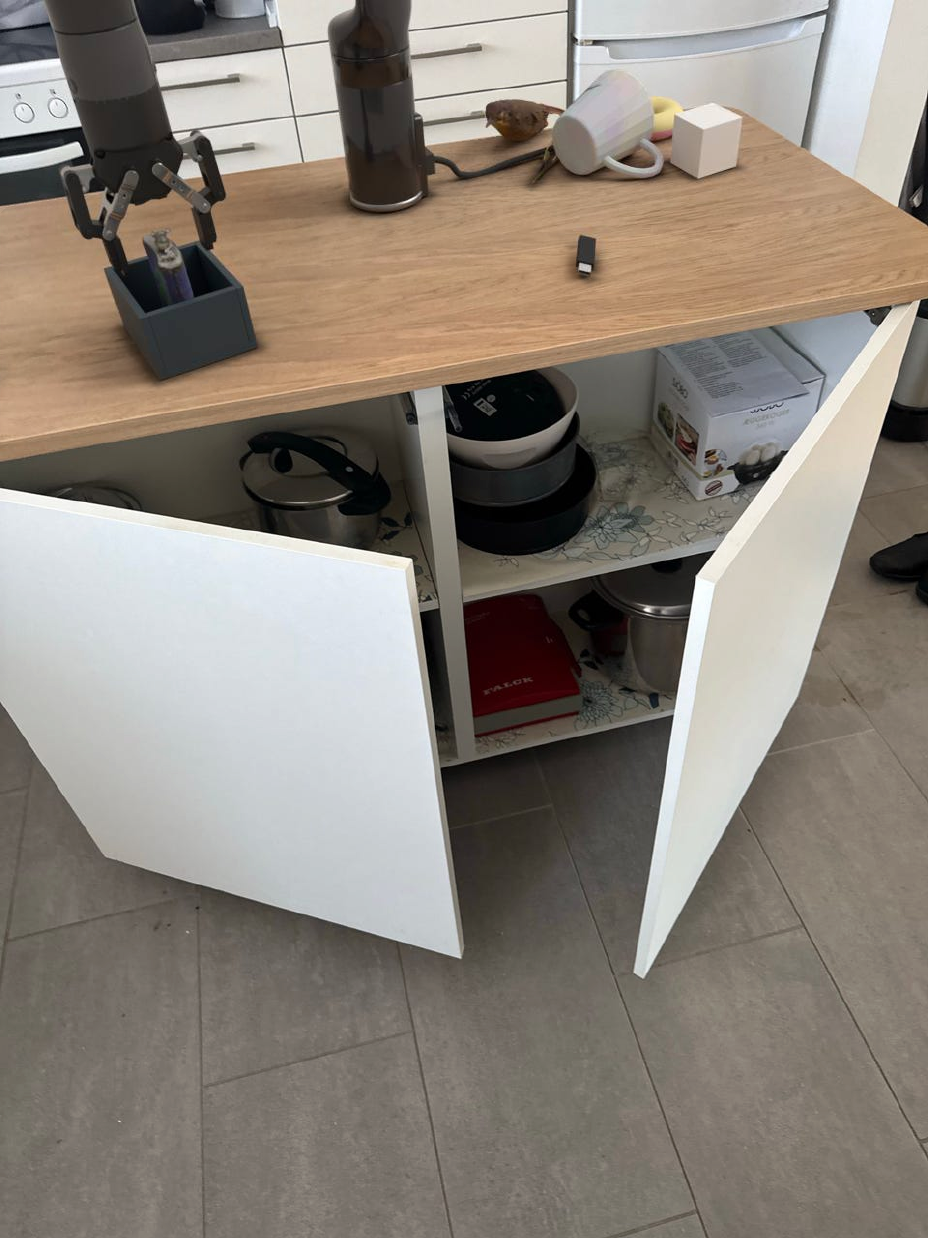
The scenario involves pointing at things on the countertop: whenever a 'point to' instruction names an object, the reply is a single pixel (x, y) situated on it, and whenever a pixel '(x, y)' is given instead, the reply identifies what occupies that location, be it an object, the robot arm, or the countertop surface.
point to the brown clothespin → (543, 167)
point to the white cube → (705, 140)
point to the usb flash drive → (585, 254)
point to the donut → (664, 117)
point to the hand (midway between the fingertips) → (166, 259)
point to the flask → (167, 268)
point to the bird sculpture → (519, 117)
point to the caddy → (184, 314)
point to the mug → (607, 127)
